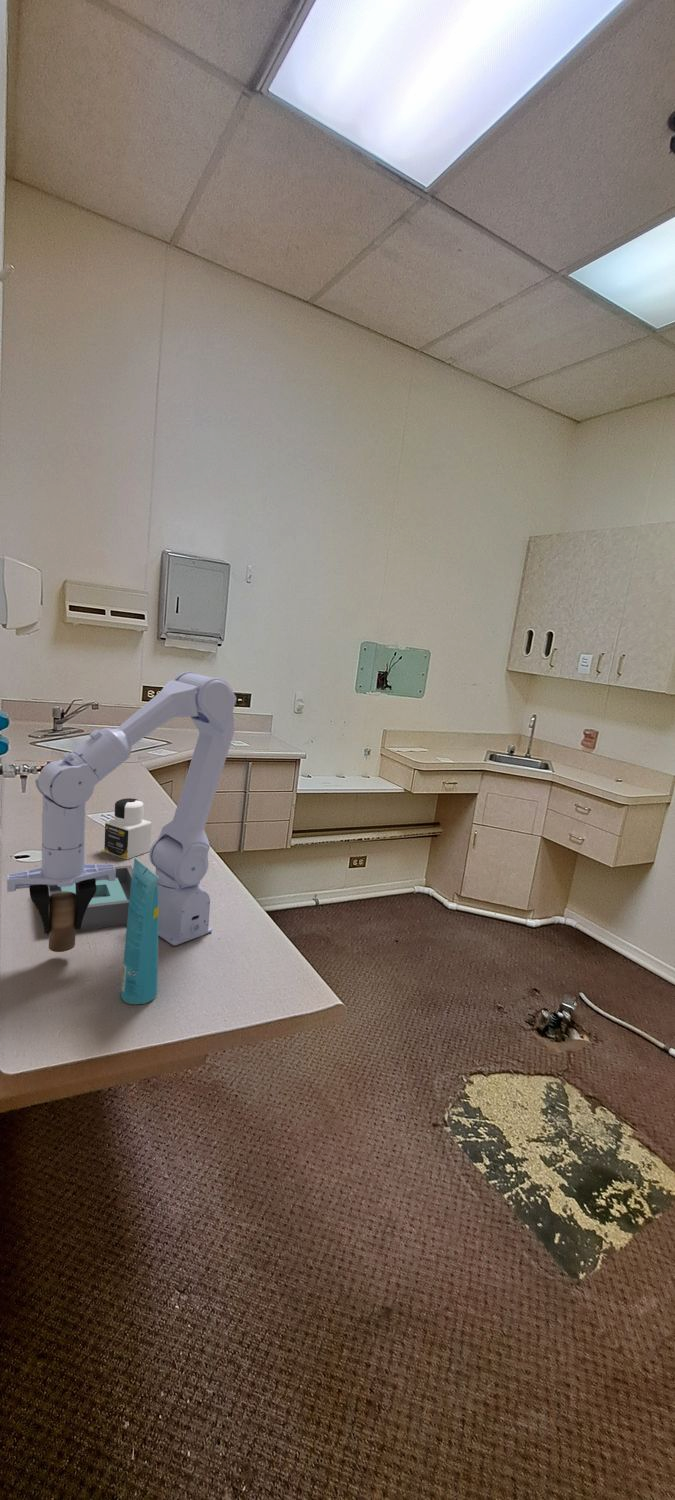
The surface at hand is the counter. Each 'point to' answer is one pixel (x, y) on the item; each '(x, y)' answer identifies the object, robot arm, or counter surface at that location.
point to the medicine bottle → (128, 830)
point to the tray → (106, 908)
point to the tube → (141, 938)
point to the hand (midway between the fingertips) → (62, 928)
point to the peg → (62, 921)
